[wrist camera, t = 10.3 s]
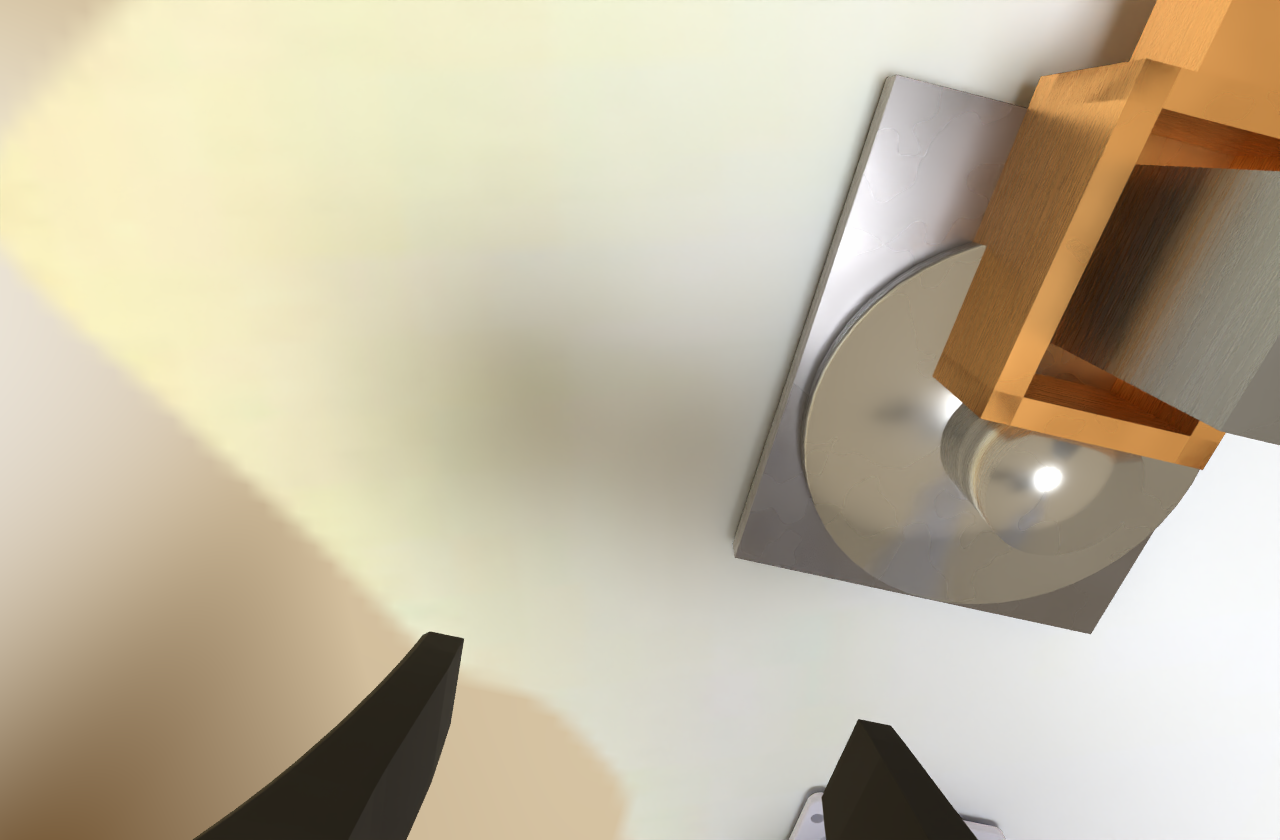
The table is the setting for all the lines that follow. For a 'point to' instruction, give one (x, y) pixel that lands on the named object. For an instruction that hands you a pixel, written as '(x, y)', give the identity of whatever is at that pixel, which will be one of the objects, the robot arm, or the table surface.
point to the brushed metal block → (1188, 295)
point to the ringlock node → (1000, 333)
